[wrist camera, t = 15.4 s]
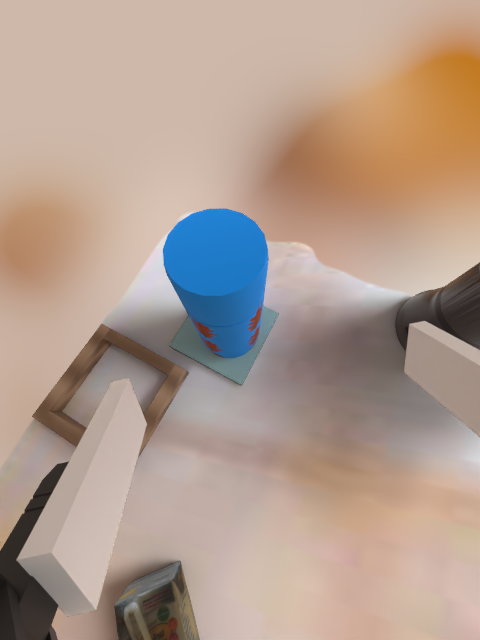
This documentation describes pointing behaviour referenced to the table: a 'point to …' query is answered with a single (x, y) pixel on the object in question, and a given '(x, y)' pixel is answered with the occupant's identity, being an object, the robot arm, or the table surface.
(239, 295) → the thermos
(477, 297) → the robot arm
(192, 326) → the mat
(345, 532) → the table surface
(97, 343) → the dock
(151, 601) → the beverage carton
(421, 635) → the table surface
